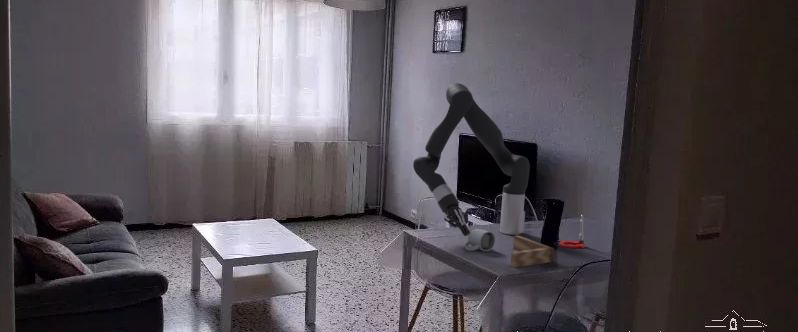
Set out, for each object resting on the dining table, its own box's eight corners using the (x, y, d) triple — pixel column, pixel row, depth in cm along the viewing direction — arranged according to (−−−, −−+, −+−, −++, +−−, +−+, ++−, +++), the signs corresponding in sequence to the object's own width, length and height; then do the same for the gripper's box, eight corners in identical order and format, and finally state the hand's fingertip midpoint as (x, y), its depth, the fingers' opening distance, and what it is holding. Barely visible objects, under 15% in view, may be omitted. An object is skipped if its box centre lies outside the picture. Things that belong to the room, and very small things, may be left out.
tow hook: (561, 248, 238) (585, 249, 238) (563, 216, 237) (587, 217, 236) (557, 243, 247) (580, 243, 246) (558, 212, 245) (581, 212, 245)
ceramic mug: (480, 245, 235) (481, 225, 234) (494, 250, 229) (496, 230, 227) (459, 248, 229) (460, 228, 228) (473, 254, 223) (474, 233, 222)
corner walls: (516, 247, 234) (518, 235, 233) (552, 261, 218) (554, 248, 217) (479, 252, 224) (480, 239, 223) (514, 267, 208) (515, 253, 207)
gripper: (450, 202, 247) (471, 237, 240) (428, 205, 237) (451, 242, 230) (461, 191, 242) (483, 227, 235) (440, 194, 233) (463, 231, 226)
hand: (467, 234), depth 233 cm, fingers closed
